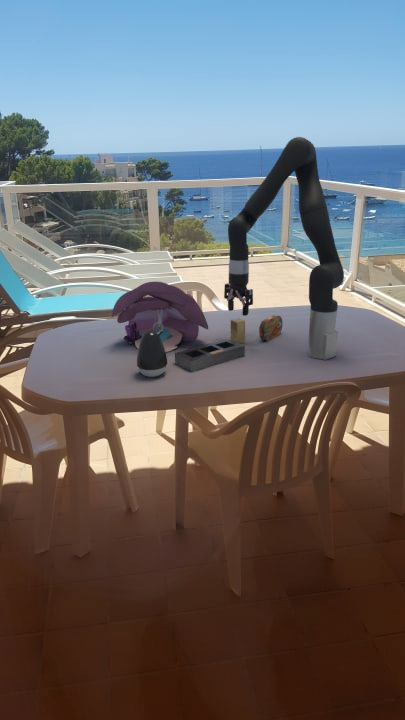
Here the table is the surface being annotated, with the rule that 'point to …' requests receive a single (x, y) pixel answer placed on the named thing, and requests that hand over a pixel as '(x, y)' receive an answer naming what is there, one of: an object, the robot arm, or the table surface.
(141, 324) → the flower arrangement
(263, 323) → the tin
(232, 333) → the square peg
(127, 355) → the table surface
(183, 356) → the hole rail
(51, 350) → the table surface
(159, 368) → the aroma diffuser
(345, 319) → the table surface
